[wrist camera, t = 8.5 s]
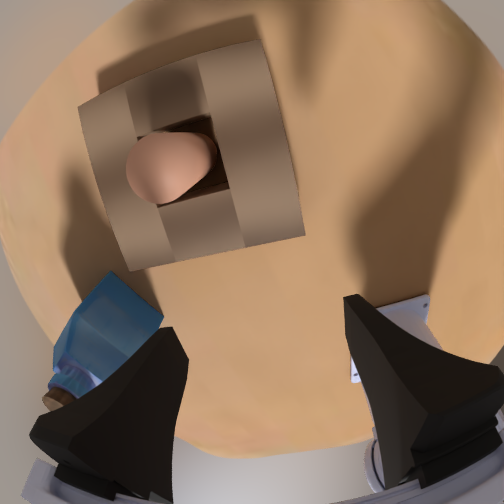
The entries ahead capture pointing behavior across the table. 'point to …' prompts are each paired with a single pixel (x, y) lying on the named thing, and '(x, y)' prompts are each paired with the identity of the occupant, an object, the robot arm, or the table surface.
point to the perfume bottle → (99, 340)
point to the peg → (169, 164)
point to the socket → (231, 147)
